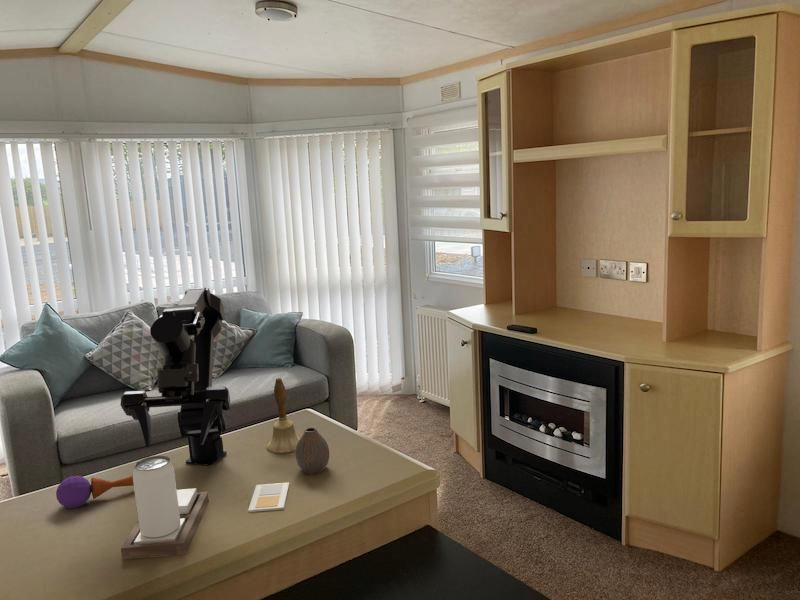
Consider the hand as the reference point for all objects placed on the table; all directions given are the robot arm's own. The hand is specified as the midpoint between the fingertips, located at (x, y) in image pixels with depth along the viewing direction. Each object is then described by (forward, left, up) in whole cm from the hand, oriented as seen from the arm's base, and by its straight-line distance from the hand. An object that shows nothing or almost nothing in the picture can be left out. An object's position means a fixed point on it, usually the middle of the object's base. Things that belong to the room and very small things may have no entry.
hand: (174, 446), depth 117 cm
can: (+2, -9, -11) cm, 14 cm away
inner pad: (-1, -1, -11) cm, 11 cm away
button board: (+1, -5, -13) cm, 14 cm away
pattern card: (+13, +9, -13) cm, 21 cm away
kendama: (-19, +4, -14) cm, 23 cm away
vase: (+16, +22, -13) cm, 30 cm away
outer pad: (+2, -9, -13) cm, 16 cm away
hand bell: (+4, +32, -14) cm, 35 cm away
